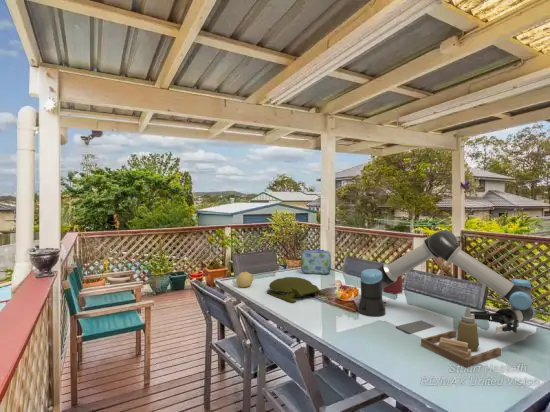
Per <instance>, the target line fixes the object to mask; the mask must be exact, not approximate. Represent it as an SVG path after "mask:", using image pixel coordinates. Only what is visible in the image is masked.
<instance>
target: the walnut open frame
mask: <svg viewBox="0 0 550 412" xmlns="http://www.w3.org/2000/svg"><path fill="white" fill-rule="evenodd" d="M441 337H442V338H447V339H452V340H453V339H456V338H457V330H455V329H454V330H449V331H446V332H443V333H439V334H435V335H431V336H428V337H423V338H420V346H421V347H422V348H425V349H427V350H429V351H430V352H434V353H435V354H437V355H440V356H441V357H443V358H446V359H447V360H449V361H452V362H453V363H456V364H458V365H460V366H462V367H463V368H470V367H473V366H476V365H478V364H481V363H483V362H486V361H489V360H491V359H494V358H498V357H500V356H502V348H501V347H495V348H492V349H489V350H486V351H483V352H481V353H477V354H474V355H471V357H468V358H464V357H461V356H459V355H457V354H455V353H453V352H451V351H448V350H446V349H444V348H442V347H440V346H438V344H439V341H440V338H441ZM437 343H438V344H437Z"/></svg>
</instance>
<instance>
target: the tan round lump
mask: <svg viewBox="0 0 550 412" xmlns="http://www.w3.org/2000/svg"><path fill="white" fill-rule="evenodd" d="M253 281H254V274H253V273H249V272H248V271H242V272H239V274H238V275H237V277H236V284H237V286H238V287H239V288H248V287H250V286H252V283H253Z"/></svg>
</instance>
